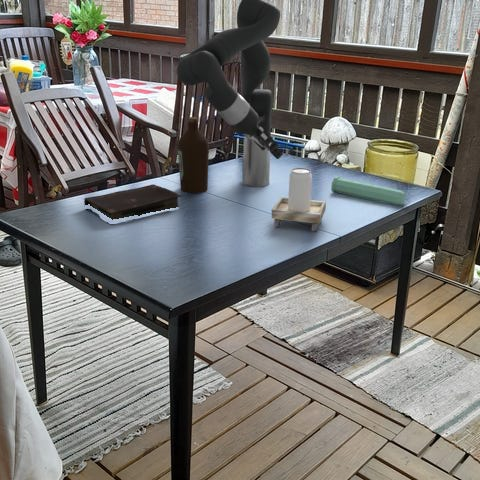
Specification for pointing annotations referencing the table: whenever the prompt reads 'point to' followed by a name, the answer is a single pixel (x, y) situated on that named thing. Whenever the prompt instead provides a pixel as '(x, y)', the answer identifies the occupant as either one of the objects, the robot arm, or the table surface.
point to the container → (368, 191)
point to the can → (300, 190)
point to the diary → (134, 201)
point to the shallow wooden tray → (298, 213)
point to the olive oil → (193, 159)
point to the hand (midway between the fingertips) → (272, 152)
